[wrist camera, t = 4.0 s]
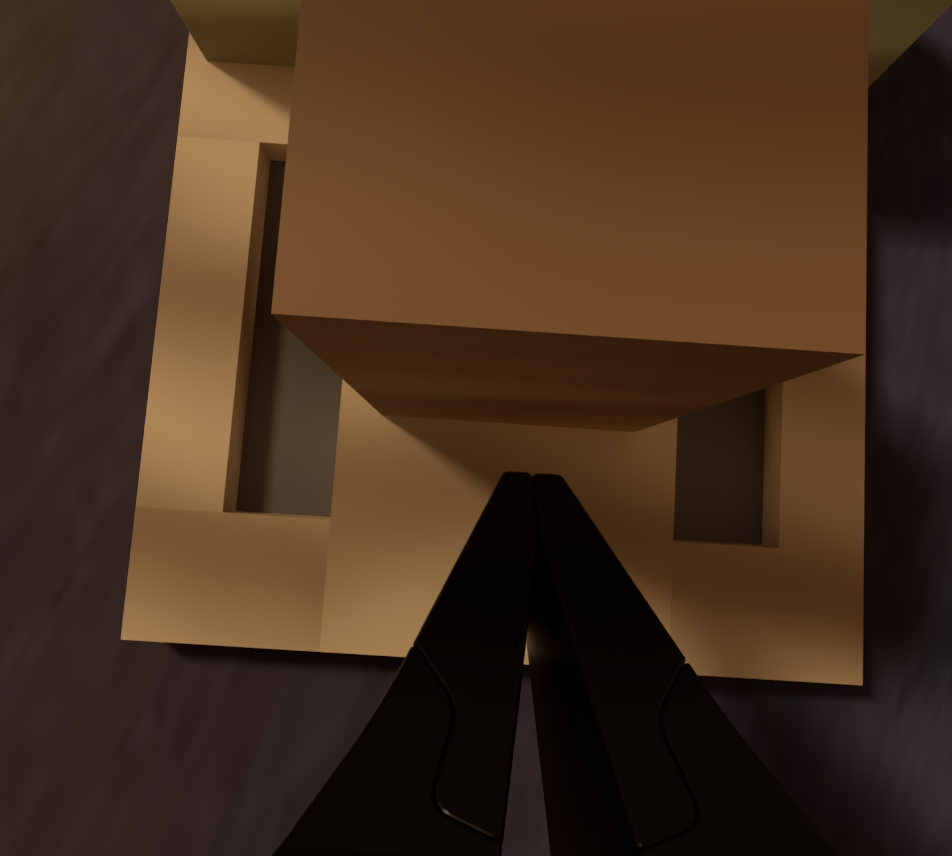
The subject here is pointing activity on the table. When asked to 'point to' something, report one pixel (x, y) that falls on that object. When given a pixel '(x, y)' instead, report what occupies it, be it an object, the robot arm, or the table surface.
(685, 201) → the walnut block
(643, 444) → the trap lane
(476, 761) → the robot arm
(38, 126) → the table surface
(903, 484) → the table surface
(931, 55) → the table surface
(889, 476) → the table surface
